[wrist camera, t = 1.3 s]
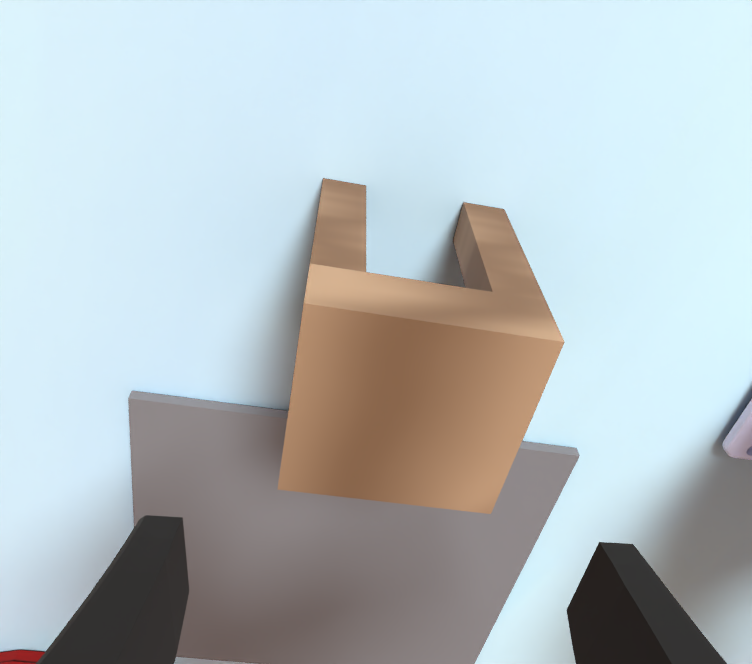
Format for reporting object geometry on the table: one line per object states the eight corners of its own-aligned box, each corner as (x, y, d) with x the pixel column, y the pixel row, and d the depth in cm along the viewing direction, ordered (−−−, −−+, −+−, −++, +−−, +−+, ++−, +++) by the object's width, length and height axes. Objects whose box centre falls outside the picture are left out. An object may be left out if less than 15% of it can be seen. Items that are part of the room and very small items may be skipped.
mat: (576, 448, 23) (579, 456, 23) (464, 672, 32) (465, 680, 32) (131, 390, 22) (128, 398, 21) (142, 645, 30) (139, 653, 30)
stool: (504, 209, 18) (564, 342, 13) (458, 354, 21) (490, 514, 15) (323, 178, 17) (303, 302, 12) (301, 331, 20) (277, 489, 15)
